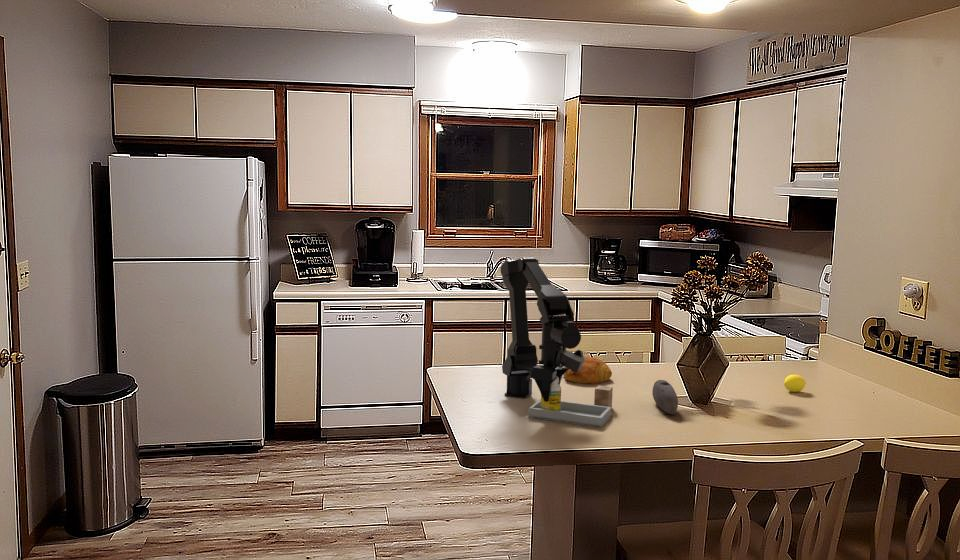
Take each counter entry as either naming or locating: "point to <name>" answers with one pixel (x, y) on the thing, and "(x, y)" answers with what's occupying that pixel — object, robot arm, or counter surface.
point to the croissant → (590, 372)
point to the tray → (573, 413)
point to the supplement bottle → (553, 397)
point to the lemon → (794, 383)
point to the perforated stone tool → (665, 396)
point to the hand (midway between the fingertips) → (550, 398)
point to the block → (603, 396)
